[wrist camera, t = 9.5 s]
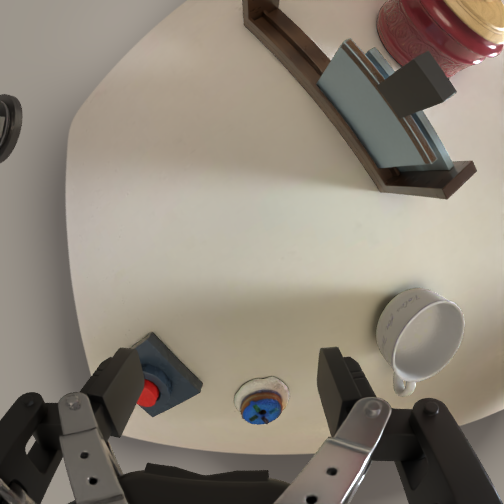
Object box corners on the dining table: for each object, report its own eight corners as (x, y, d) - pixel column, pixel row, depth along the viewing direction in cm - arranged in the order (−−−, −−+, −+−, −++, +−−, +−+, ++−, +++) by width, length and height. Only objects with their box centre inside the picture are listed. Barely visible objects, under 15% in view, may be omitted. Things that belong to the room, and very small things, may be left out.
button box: (109, 363, 37) (98, 378, 33) (152, 331, 36) (142, 346, 32) (156, 408, 39) (149, 425, 35) (202, 383, 38) (198, 401, 34)
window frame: (243, 25, 27) (238, -45, 14) (272, 9, 27) (279, -60, 13) (380, 192, 32) (447, 199, 19) (405, 172, 31) (477, 170, 18)
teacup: (390, 269, 34) (421, 290, 26) (447, 291, 34) (480, 313, 27) (344, 362, 37) (361, 399, 29) (403, 374, 37) (425, 406, 30)
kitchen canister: (435, 100, 29) (529, 67, 11) (357, 35, 27) (418, -44, 10) (462, 49, 26) (537, 12, 9) (395, -9, 25) (450, -72, 8)
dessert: (254, 427, 38) (242, 437, 33) (234, 391, 41) (219, 395, 36) (301, 404, 38) (296, 411, 33) (279, 367, 41) (270, 368, 36)
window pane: (312, 86, 28) (364, 3, 11) (323, 79, 27) (381, -3, 11) (375, 170, 30) (477, 165, 13) (385, 163, 29) (489, 152, 13)
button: (128, 384, 34) (124, 392, 32) (145, 374, 33) (141, 382, 32) (147, 402, 34) (144, 410, 33) (164, 393, 34) (161, 401, 32)
